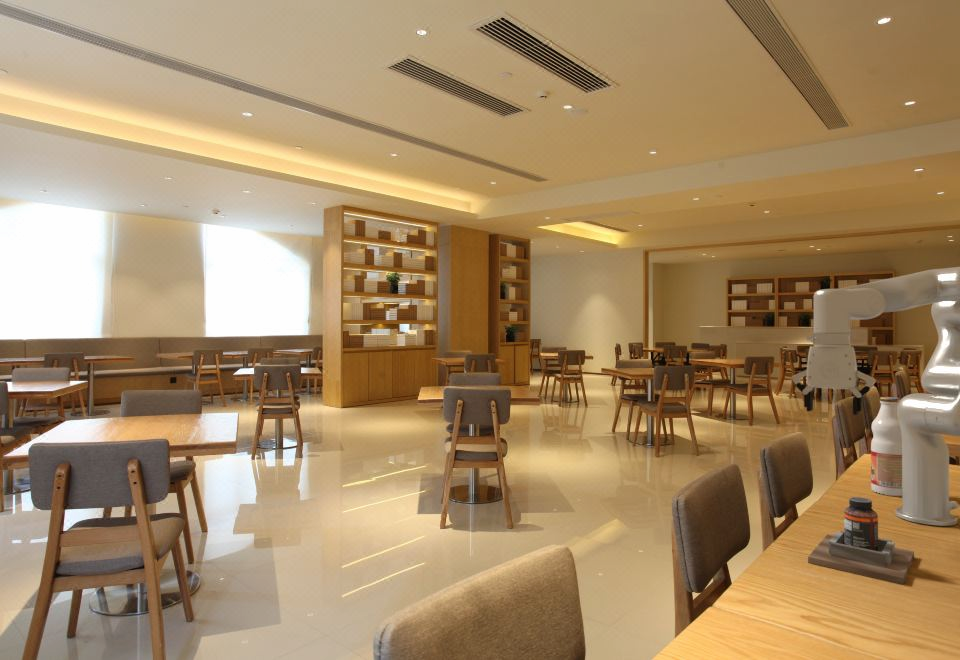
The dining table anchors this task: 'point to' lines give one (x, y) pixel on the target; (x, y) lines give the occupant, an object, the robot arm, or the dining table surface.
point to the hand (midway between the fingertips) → (832, 412)
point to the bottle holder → (863, 558)
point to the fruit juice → (886, 449)
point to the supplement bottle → (861, 524)
